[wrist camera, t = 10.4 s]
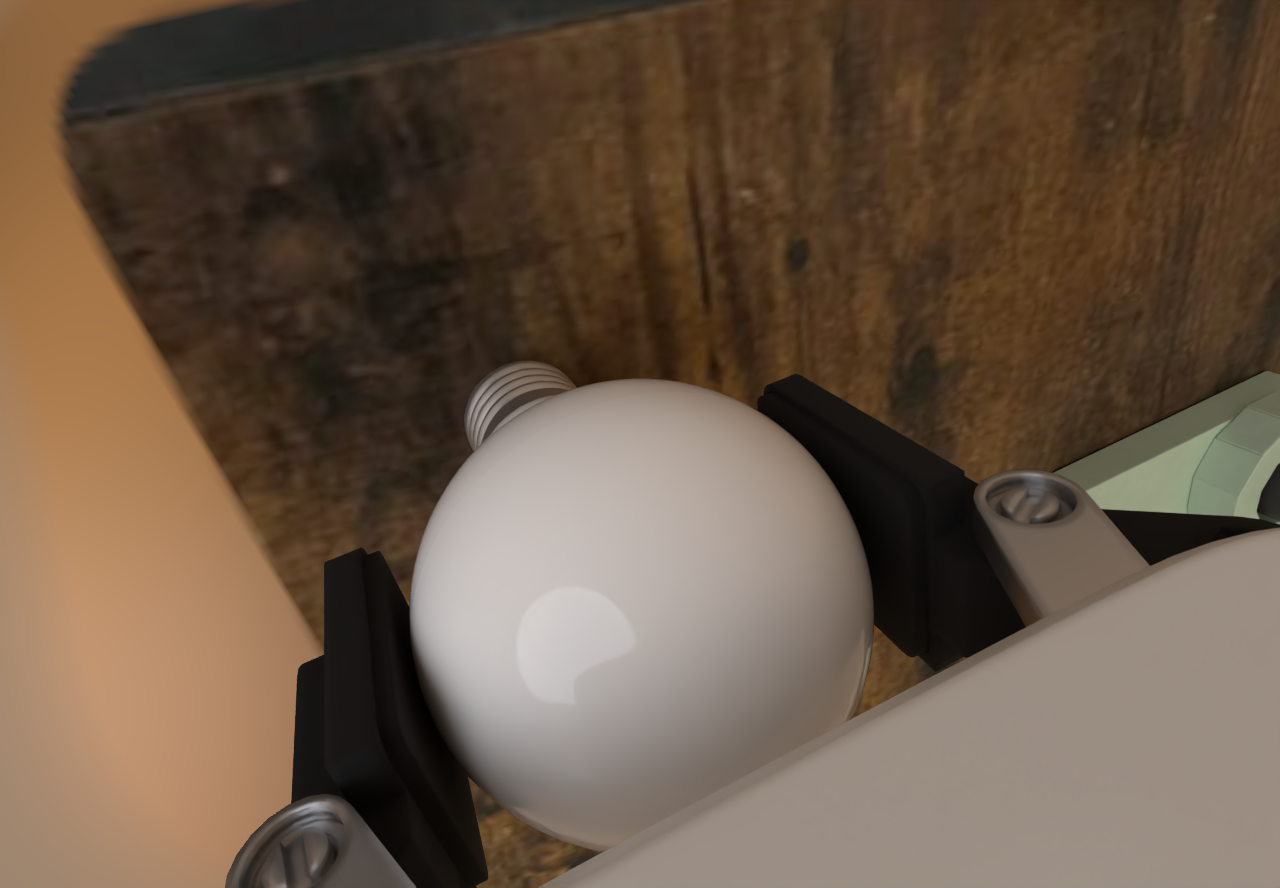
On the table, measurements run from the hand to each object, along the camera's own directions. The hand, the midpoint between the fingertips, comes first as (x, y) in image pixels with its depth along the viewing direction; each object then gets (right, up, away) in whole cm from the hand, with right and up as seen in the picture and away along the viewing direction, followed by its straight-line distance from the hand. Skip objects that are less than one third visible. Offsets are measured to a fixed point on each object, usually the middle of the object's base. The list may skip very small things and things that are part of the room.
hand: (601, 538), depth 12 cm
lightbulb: (-2, +2, +5) cm, 6 cm away
